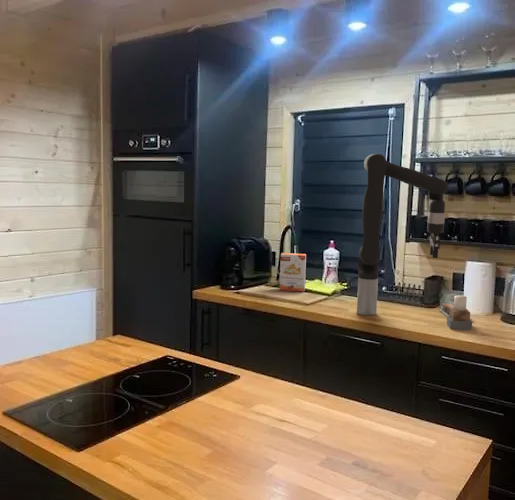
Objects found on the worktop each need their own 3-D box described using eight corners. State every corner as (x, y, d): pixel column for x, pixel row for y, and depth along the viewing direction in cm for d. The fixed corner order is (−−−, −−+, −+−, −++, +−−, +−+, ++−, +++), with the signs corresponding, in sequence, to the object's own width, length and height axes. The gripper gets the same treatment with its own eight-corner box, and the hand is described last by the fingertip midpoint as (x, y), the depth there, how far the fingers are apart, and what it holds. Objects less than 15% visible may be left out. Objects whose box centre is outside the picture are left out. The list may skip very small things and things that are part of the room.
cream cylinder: (454, 310, 242) (455, 297, 241) (453, 308, 247) (453, 295, 246) (466, 311, 241) (467, 298, 240) (465, 309, 246) (465, 295, 245)
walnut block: (452, 320, 242) (453, 311, 241) (449, 316, 249) (450, 307, 248) (469, 321, 241) (470, 312, 240) (465, 317, 248) (466, 308, 247)
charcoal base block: (450, 329, 242) (450, 320, 241) (446, 324, 250) (447, 315, 250) (471, 331, 240) (472, 322, 240) (467, 325, 249) (468, 316, 248)
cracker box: (279, 290, 311) (280, 254, 308) (280, 288, 317) (281, 252, 314) (304, 292, 309) (305, 255, 306) (305, 289, 315) (306, 253, 312)
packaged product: (438, 302, 272) (458, 302, 272) (438, 312, 272) (458, 312, 272) (451, 311, 254) (473, 312, 254) (450, 322, 255) (472, 322, 255)
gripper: (425, 220, 267) (423, 254, 269) (429, 223, 253) (427, 258, 255) (441, 221, 266) (439, 254, 268) (446, 224, 252) (444, 259, 254)
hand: (433, 256), depth 262 cm, fingers open, 8 cm apart
